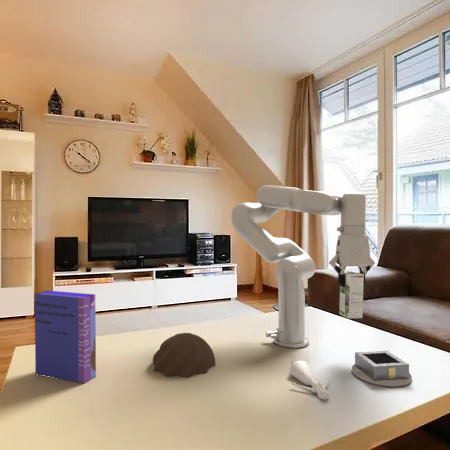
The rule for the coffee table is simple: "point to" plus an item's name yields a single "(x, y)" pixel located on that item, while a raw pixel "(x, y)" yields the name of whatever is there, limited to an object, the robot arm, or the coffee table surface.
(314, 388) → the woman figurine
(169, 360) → the decorative dome
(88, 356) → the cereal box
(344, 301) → the syrup box
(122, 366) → the coffee table surface
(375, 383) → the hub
